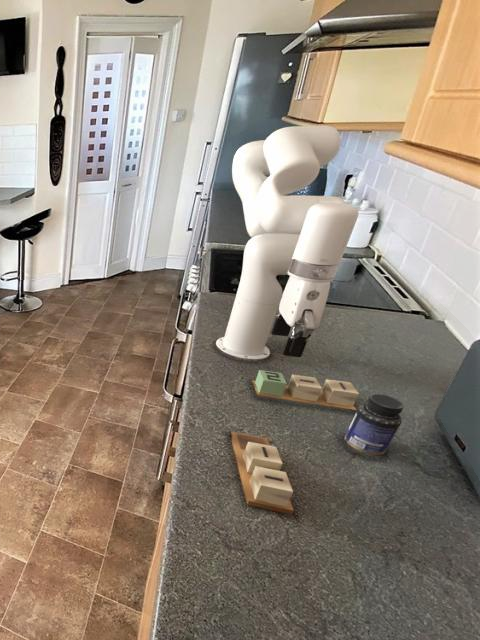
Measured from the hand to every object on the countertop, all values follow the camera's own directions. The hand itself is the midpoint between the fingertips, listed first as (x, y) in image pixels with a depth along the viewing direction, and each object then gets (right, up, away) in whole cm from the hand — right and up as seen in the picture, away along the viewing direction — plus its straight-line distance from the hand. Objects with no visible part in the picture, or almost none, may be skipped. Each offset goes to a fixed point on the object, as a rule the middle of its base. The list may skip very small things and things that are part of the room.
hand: (285, 344), depth 93 cm
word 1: (-16, -23, -14) cm, 31 cm away
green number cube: (+1, -10, +6) cm, 12 cm away
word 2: (+7, -12, +5) cm, 15 cm away
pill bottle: (+8, -20, -10) cm, 23 cm away
